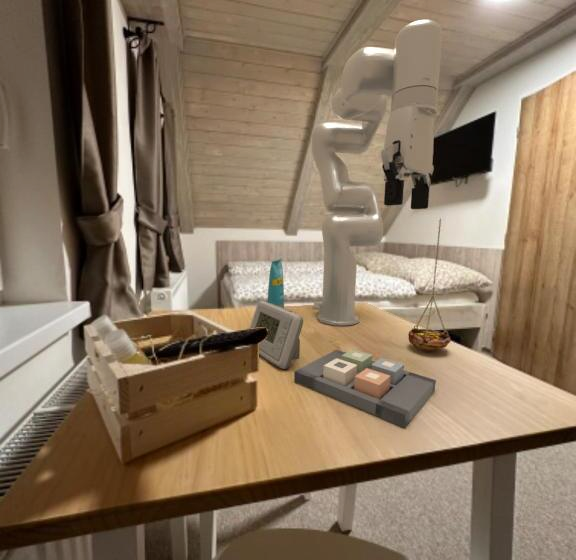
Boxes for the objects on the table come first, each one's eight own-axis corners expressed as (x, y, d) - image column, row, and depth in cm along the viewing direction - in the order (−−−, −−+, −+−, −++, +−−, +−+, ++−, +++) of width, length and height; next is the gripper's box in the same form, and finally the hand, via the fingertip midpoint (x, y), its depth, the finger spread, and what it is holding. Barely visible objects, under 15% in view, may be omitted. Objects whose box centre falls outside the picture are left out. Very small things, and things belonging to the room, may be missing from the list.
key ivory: (323, 379, 55) (323, 365, 55) (336, 371, 59) (336, 357, 58) (344, 387, 53) (345, 372, 52) (356, 378, 56) (357, 364, 56)
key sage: (341, 367, 60) (341, 355, 60) (352, 361, 63) (352, 348, 63) (361, 374, 57) (362, 361, 57) (371, 367, 60) (372, 354, 60)
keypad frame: (294, 381, 57) (294, 371, 57) (335, 358, 68) (336, 349, 68) (404, 428, 45) (405, 415, 44) (434, 390, 55) (435, 380, 55)
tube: (281, 337, 80) (282, 261, 77) (262, 335, 81) (263, 260, 78) (286, 328, 88) (288, 258, 84) (269, 326, 88) (270, 257, 85)
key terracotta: (353, 390, 52) (354, 376, 51) (365, 381, 55) (366, 367, 54) (378, 400, 49) (379, 384, 49) (389, 390, 52) (390, 375, 52)
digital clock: (243, 345, 75) (243, 300, 73) (279, 340, 78) (280, 298, 76) (266, 375, 60) (267, 320, 58) (309, 367, 64) (311, 316, 62)
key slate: (370, 378, 56) (371, 364, 56) (380, 370, 59) (381, 357, 59) (393, 386, 54) (395, 371, 53) (403, 377, 57) (404, 363, 56)
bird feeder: (453, 359, 69) (469, 218, 64) (410, 355, 71) (422, 217, 66) (442, 345, 77) (456, 219, 72) (404, 341, 79) (415, 218, 74)
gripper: (415, 124, 64) (409, 211, 67) (367, 98, 53) (361, 204, 55) (455, 114, 59) (447, 209, 61) (410, 83, 47) (402, 201, 50)
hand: (406, 207), depth 58 cm, fingers open, 9 cm apart
